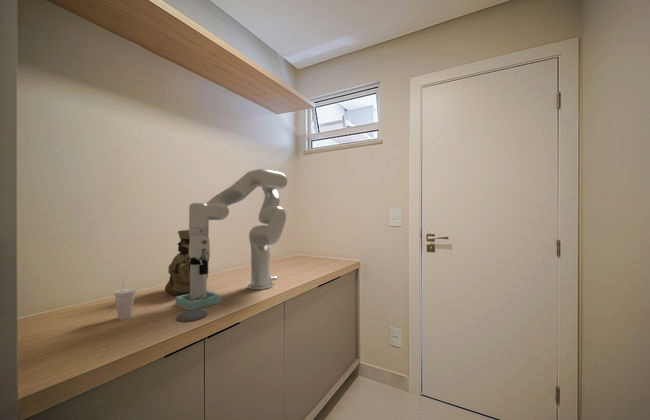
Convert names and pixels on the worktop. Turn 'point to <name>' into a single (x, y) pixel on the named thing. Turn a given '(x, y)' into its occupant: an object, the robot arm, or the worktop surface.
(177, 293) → the ceramic vessel
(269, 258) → the robot arm
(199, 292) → the travel mug
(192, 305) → the dock collar
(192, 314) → the pad
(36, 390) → the worktop surface
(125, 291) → the smoothie
